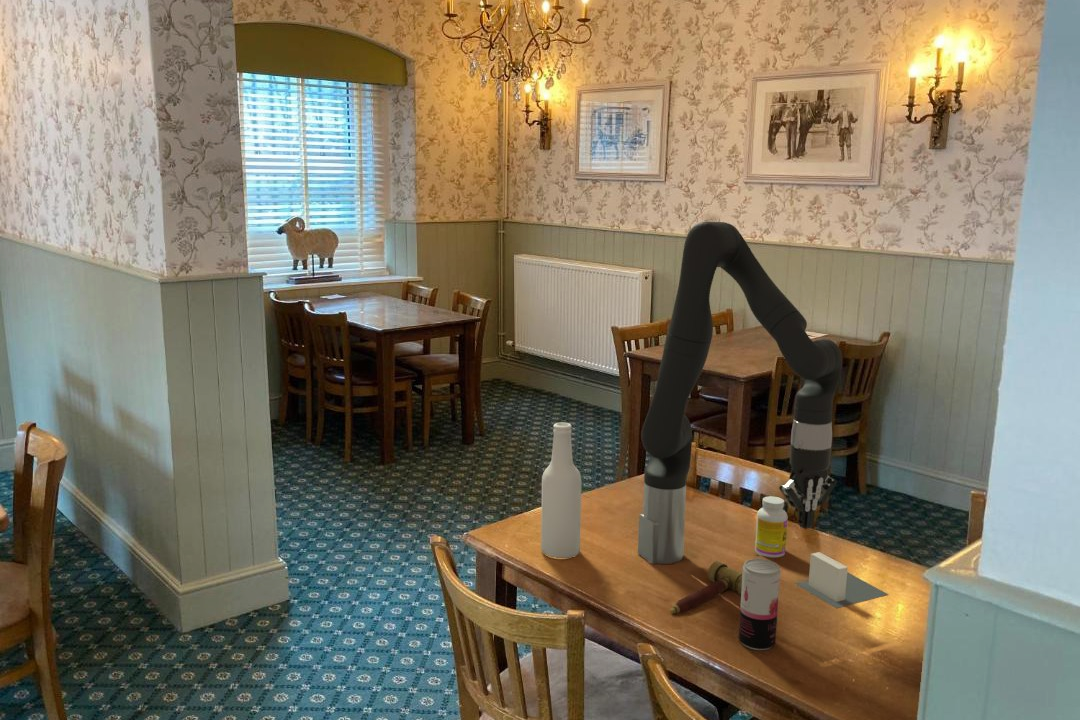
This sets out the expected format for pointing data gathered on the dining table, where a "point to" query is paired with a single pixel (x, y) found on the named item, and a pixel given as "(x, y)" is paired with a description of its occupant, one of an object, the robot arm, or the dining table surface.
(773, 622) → the beverage can
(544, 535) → the alcohol
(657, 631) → the dining table surface
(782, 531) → the supplement bottle
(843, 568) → the tile
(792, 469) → the robot arm
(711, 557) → the dining table surface
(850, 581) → the mat
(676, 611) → the gavel
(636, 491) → the dining table surface
